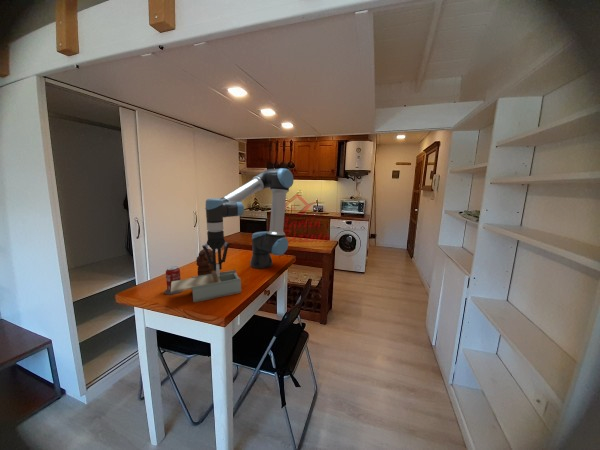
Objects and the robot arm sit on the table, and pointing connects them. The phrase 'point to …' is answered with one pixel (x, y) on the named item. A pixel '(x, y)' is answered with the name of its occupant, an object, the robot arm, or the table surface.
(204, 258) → the wooden figurine
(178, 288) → the lid
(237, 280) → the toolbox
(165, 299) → the table surface
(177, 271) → the beverage can
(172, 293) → the coaster
